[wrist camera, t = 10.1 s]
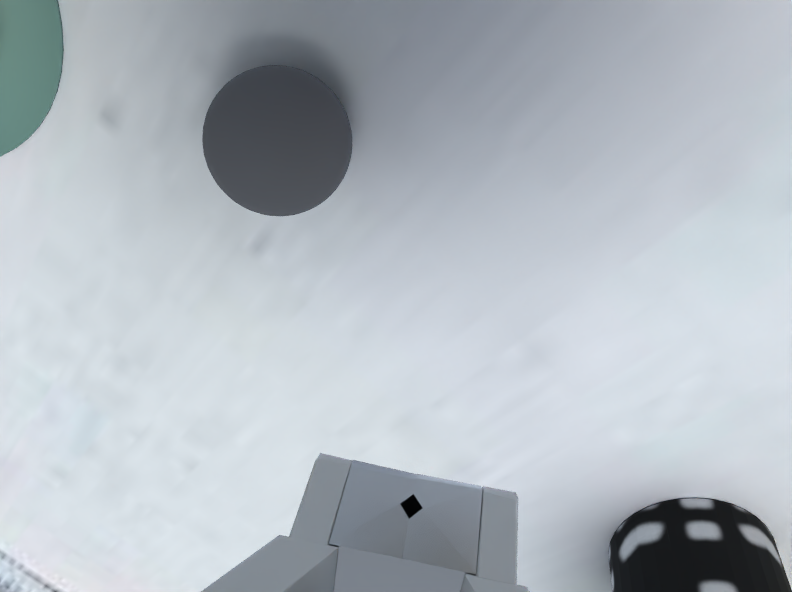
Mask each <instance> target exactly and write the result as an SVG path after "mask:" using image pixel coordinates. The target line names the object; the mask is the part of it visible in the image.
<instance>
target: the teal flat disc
mask: <svg viewBox="0 0 792 592" xmlns="http://www.w3.org/2000/svg"><path fill="white" fill-rule="evenodd" d="M62 60H63V36H62V24H61V18H60V12H59V6H58V1H57V0H0V156H2V155H4V154H6V153H8V152H10V151H11V150H13V149H15V148H17V147H18V146H19V145H21V144H22V143H23V142H24V141H26V140H27V139H28V138H29V137H30V136H31V135H32V134H33V133H34V132H35V131H36V129H37V128H38V127H39V126H40V125H41V124H42V122H43V120H44V119H45V117H46V115H47V114H48V112H49V110H50V108H51V106H52V103H53V101H54V98H55V96H56V93H57V90H58V85H59V81H60V76H61V72H62Z"/></svg>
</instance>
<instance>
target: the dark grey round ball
mask: <svg viewBox="0 0 792 592" xmlns="http://www.w3.org/2000/svg"><path fill="white" fill-rule="evenodd" d="M203 149H204V156H205V159H206V162H207V166H208V168H209V170H210V172H211V174H212V176H213V178H214V180H215V181H216V183H217V184H218V186H219V187H220V188H221V189H222V190H223V191H224V192H225V193H226V194H227V195H228V196H229V197H230V198H231V199H232V200H234V201H235V202H236V203H238V204H239V205H241V206H243V207H245V208H247V209H249V210H251V211H254V212H257V213H260V214H264V215H270V216H289V215H295V214H299V213H302V212H305V211H308V210H310V209H312V208H314V207H316V206H317V205H319V204H321V203H322V202H323V201H325V200H326V199H327V198H328V197H329V196H330V195H331V194H332V193H333V192H334V191H335V190H336V189H337V187H338V186H339V184H340V183H341V181H342V179H343V178H344V176H345V174H346V171H347V169H348V166H349V162H350V158H351V151H352V134H351V128H350V124H349V120H348V117H347V114H346V112H345V110H344V108H343V106H342V104H341V102H340V101H339V99H338V98H337V96H336V95H335V94H334V93H333V92H332V91H331V89H330V88H329V87H328V86H326V85H325V84H324V83H323V82H322V81H320V80H319V79H318V78H316V77H314V76H313V75H311V74H309V73H307V72H305V71H302V70H300V69H297V68H293V67H287V66H280V65H272V66H262V67H258V68H254V69H251V70H248V71H246V72H243V73H242V74H240V75H238V76H236V77H235V78H233V79H232V80H231V81H229V82H228V83H227V84H226V85H225V86H224V87H223V88H222V89H221V90H220V91H219V93H218V94H217V95H216V96H215V98H214V100H213V101H212V103H211V105H210V107H209V109H208V112H207V114H206V118H205V122H204V126H203Z"/></svg>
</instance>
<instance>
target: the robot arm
mask: <svg viewBox="0 0 792 592" xmlns="http://www.w3.org/2000/svg"><path fill="white" fill-rule="evenodd" d="M517 531H518V497H517V495H516V493H515V492H510V491H505V490H499V489H494V488H489V487H484V486H483V487H481V486H478V485H473V484H468V483H463V482H457V481H452V480H447V479H442V478H436V477H431V476H426V475H421V474H413V473H409V472H404V471H400V470H396V469H391V468H387V467H382V466H378V465H374V464H369V463H365V462H360V461H356V460H348V459H344V458H340V457H335V456H331V455H327V454H322V453H320V455H319V456H318V458H317V459H316V461H315V463H314V466H313V469H312V472H311V475H310V478H309V481H308V484H307V487H306V489H305V492H304V495H303V498H302V501H301V504H300V507H299V510H298V512H297V515H296V518H295V521H294V524H293V527H292V530H291V533H290V535H289V537H287V536H282V535H279V536H277V537H276V538H274V539H273V540H272V541H270V542H269V543H268V544H266V545H265V546H263V547H262V548H261V549H259V550H258V551H256V552H255V553H254V554H252V555H251V556H250V557H248V558H247V559H245V560H244V561H243V562H241V563H240V564H238V565H237V566H236V567H234V568H233V569H232V570H230V571H229V572H227V573H226V574H225V575H223V576H222V577H220V578H219V579H218V580H216V581H215V582H214V583H212V584H211V585H209V586H208V587H207V588H205V589H204V590H202V591H201V592H530V591H529V590H528V588H527V587H525V586H521V585H517Z"/></svg>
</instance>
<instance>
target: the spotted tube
mask: <svg viewBox="0 0 792 592" xmlns="http://www.w3.org/2000/svg"><path fill="white" fill-rule="evenodd" d="M608 554H609V564H610V573H611V582H612V592H792V590H791V587H790V584H789V581H788V579H787V576H786V573H785V570H784V567H783V564H782V561H781V558H780V555H779V553H778V550H777V547H776V544H775V541H774V538H773V536H772V534H771V533H770V531H769V530H768V528H767V526H766V525H764V524H763V523H762V522H761V521H760V520H759V519H758V518H757V517H756V516H754V515H752V514H751V513H749V512H748V511H746V510H744V509H742V508H739V507H737V506H734V505H732V504H729V503H725V502H721V501H716V500H710V499H699V498H691V499H677V500H671V501H666V502H661V503H658V504H655V505H652V506H649V507H647V508H645V509H643V510H641V511H639V512H637V513H635V514H633V515H632V516H631V517H630V518H628V519H627V520H626V521H625V522H623V523H622V525H621V526H620V527H619V528H618V529H617V531H616V532H615V533H614V535H613V538H612V540H611V542H610V546H609V552H608Z"/></svg>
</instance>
